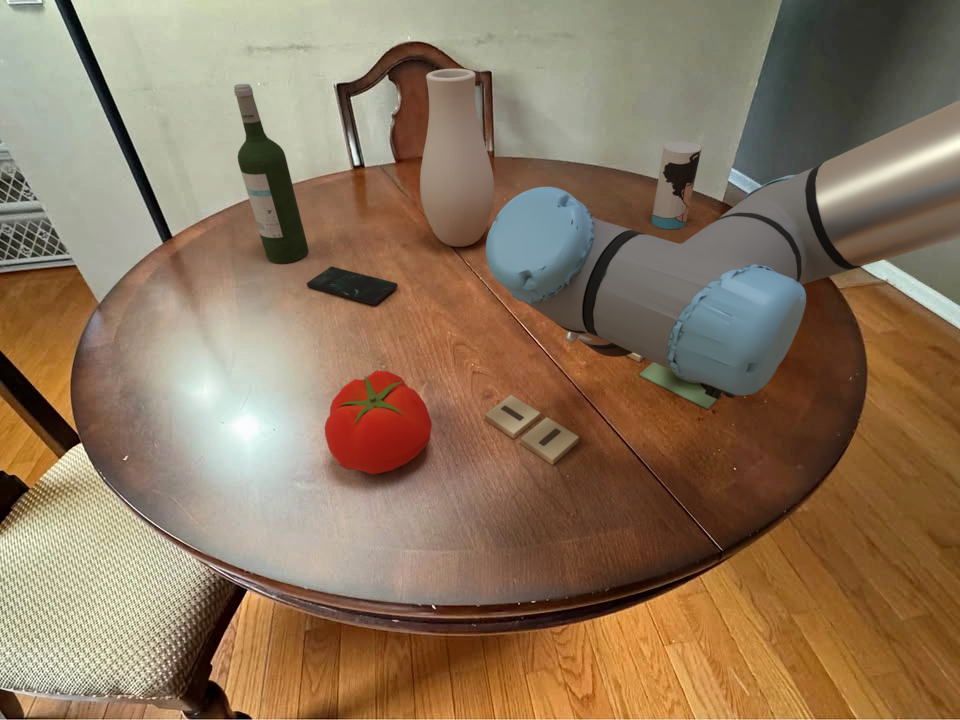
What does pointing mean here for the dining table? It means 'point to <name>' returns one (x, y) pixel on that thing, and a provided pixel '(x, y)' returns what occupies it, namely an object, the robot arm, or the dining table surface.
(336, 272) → the smartphone
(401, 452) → the tomato
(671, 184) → the cup
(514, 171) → the dining table surface
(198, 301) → the dining table surface
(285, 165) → the wine bottle
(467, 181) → the vase
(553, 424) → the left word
